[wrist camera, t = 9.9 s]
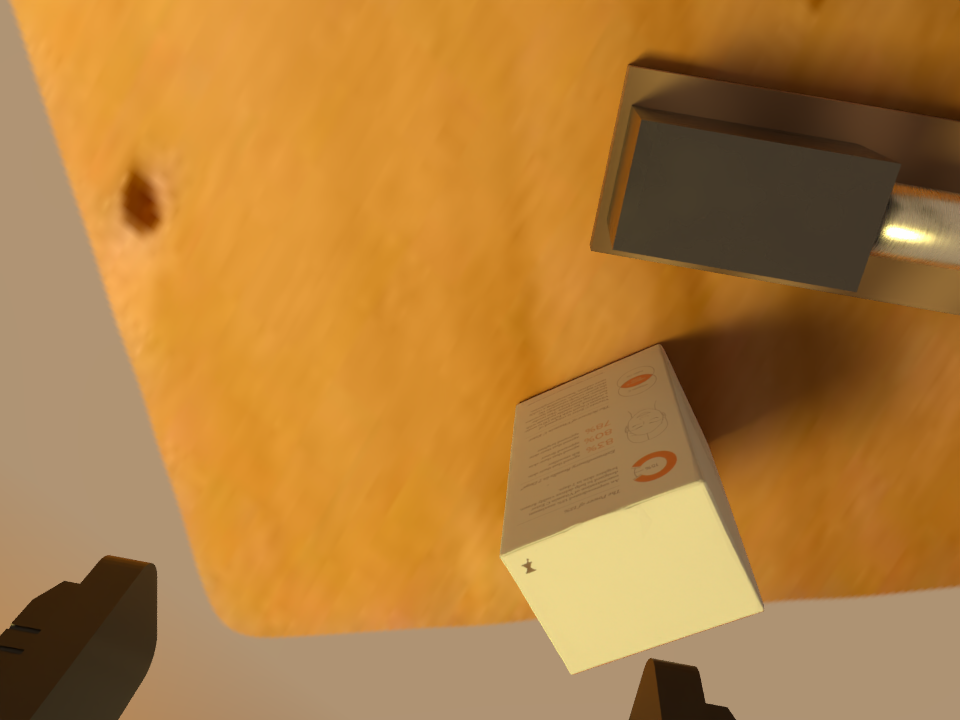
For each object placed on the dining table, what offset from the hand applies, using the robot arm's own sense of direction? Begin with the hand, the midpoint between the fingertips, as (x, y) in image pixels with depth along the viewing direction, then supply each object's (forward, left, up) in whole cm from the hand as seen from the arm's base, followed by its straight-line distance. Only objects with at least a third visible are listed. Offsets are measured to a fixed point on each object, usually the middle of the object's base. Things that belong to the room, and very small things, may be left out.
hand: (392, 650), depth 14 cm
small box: (+9, +7, -28) cm, 31 cm away
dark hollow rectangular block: (-4, +9, -27) cm, 29 cm away
